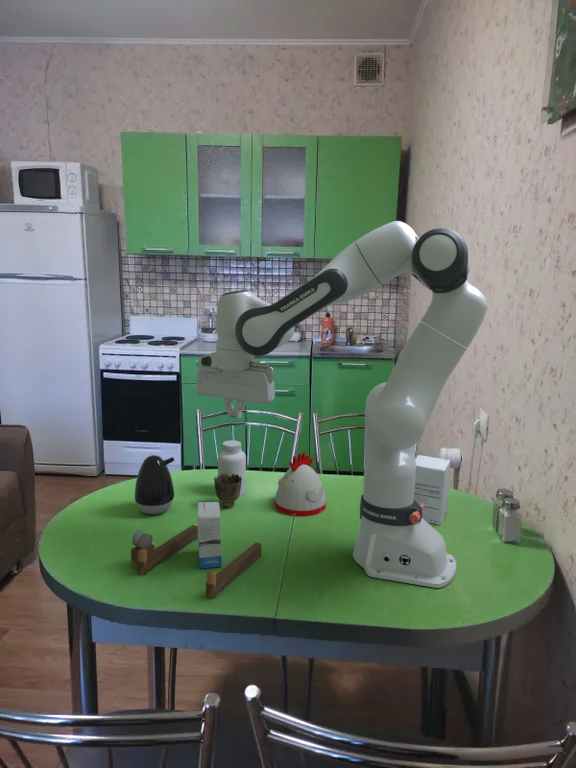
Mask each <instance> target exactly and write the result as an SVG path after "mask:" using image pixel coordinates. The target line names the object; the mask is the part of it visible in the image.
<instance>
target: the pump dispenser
mask: <svg viewBox="0 0 576 768" xmlns="http://www.w3.org/2000/svg"><path fill="white" fill-rule="evenodd" d="M173 462H175V457H169V458H167V459H163V458H162V457H161V456H159V455H156V454H154V455H149V456H148V457H146V458H145V459H144V460H143V462H141V463H142V464H141V465H140V468H139V470H138V474H137V476H136V481H135V485H134V486H135V487H134V501H135V503H136V505H137V507H138V509H139V510H140V511H141V512H142V513H144V514H147V515H160V514H162V513H164V512H166V511H168V510H169V508H170V507H171V506H172V504H173V501H174V498H175V488H174V482H173V478H172V476H171V475H172V474H171V472H170V469H169V467H168V465H169V464H171V463H173Z"/></svg>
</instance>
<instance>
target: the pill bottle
mask: <svg viewBox="0 0 576 768" xmlns="http://www.w3.org/2000/svg"><path fill="white" fill-rule="evenodd" d="M246 468H247V455H246V453H245V452H244V451H243V450H242V443H241V441H239V440H235V439H234V440H231V439H230V440H225V441H223V442H222V451H220V452H219V454H218V456H217V476H218V475H219V477H220V475H221V474H224V475H225V474H227V476H228V477H229V476H231V477H232V474H234V475H237V474H238V475H239V477H240V476H241V478H242V481H241V490H240V495H239V497H241V496H243V495H244V494H246V488H247V487H246V483H247V482H246V481H247V480H246V478H247V477H246V476H247V474H246V473H247V469H246Z"/></svg>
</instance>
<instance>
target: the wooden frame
mask: <svg viewBox="0 0 576 768" xmlns="http://www.w3.org/2000/svg"><path fill="white" fill-rule="evenodd" d="M153 540H154V538H153V535H152V534H150V533H147V532H143V531H141V530H140V531H139V530H138V531H137V532H135V534H133V537H132V541H131V542H132V546H134V547H133V548H131V549H130V559H131V561H130V562H131V568H134V569H136V572H137V574H138V575H141V576H144V575H147V574H148V573H149V572H150V571H152V570H153V569H155V568H156V567H157V566H159V565H160V564H162V563H163V562H164V561H166V560H168V559H169V558H171V557H172V556H174V555H175V554H177V553H178V552H179V551H181V550H183V549H184V548H186V547H187V546H188V545H189V544H191V543H193V542H194V541H195V540H198V525H195V524H192V525H190V526H188V527H187V528H186V529H184V530H182V531H181V532H179V533H178V534H176V535H174V536H173V537H171V538H169V539H168V540H167V541H165V542H164V543H162V544H160V545H158V546H157V547H156V548H155V544H153ZM261 557H262V543H260V542H257V541H256V542H254V543H253V544H252V545H251V546H249V547H248V548H247V549H245V550H244V551H243V552H242V553H240V554H239V555H237V557H236V558H234V559H233V560H232V561H231V562H229V563H228V564H227V565H226V566H224V568H222V569H221V570H220V571H219V572H217V571H216V570H214V569H209V570H207V572H206V582H205V598H207V599H210V600H213V599H215V598H216V597H217V596H218V594H220V593H221V592H222V591H224V589H226V588H227V587H228V586H229V585H230V584H232V583H233V581H235V580H236V579H237V578H238V577H239V576H240V575H241V574H243V572H245V571H246V570H247V569H249V567H251V566H252V565H253V564H254V563H256V562H257V561H258V560H259V559H260V558H261ZM225 587H226V588H225Z"/></svg>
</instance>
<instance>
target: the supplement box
mask: <svg viewBox="0 0 576 768" xmlns="http://www.w3.org/2000/svg"><path fill="white" fill-rule="evenodd" d="M415 459H416V476H415V491H414V499H415V501H416V502H417V503H418V504H419V505H421V504H422V503H423V511H422V518H423V519H424V520H425V521H426V522H427V523H428V524H434V525H440V526H441V525H442V524H443V521H444V519H445V518H446V517H445V516H446V514H447V513H448V501H449V488H450V487H449V486H450V475H451V459H446V458H439V457H433V456H428V455H417V456H415Z"/></svg>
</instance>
